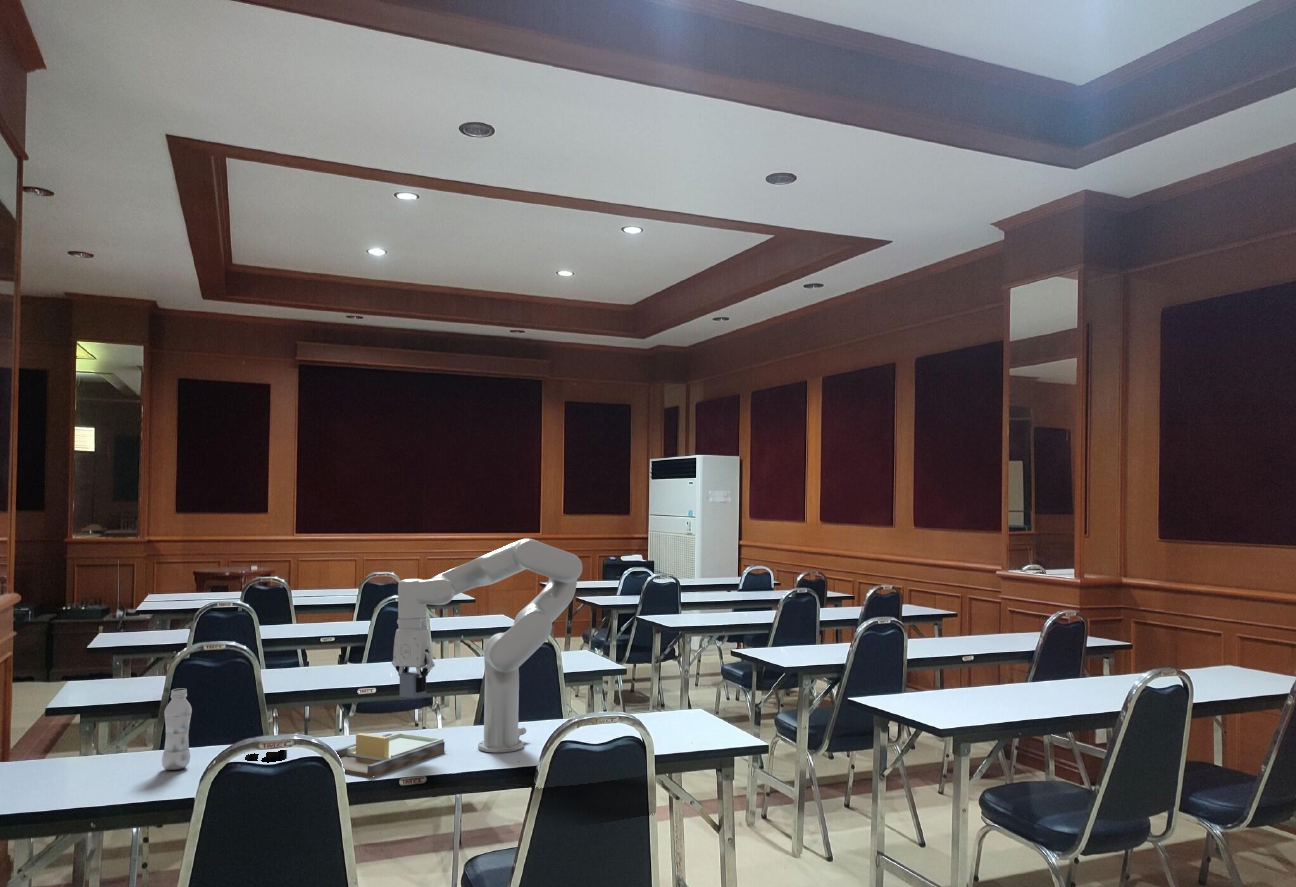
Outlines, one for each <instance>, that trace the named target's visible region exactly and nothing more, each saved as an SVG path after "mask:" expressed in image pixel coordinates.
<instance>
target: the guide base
mask: <svg viewBox="0 0 1296 887" xmlns="http://www.w3.org/2000/svg"><path fill="white" fill-rule="evenodd" d="M390 735H393V734H392V733H387V734H384V735H382V736H384V737H387V736H390ZM354 746H356V743H354V744H350V745H347V746H343V747H340V748H337V749H334V750H335V751H336V752H337V754H338V755H339V757H340V759H341V761H342V764H343V768H344V769H345V773H344V774H346V775H347V774H348V775H351V776H359V777H364V778H369V777H370V778H371V777H372V778H374V777H373V776H375V777H378V776H381V775H383V774H386V773H389V772H392V771H395V770H397V769H400V768H403V767H406V766H409V765H411V764H414V763H417V762H420V761H423V760H425V759H428V758H431V757H434V756H436V755H440V754H443V753H445V748H446V746H445V741H440V742H437V743H434V744H431V745H428V746H425V747H422V748H419V749H416V750H413V751H410V752H407V753H404V754H401V755H398V756H395V757H392V758H389V759H386V760H383V761H379V760H373V759H367V758H361V757H354V756H348V755H347V748H350V747H354ZM380 774H381V775H380ZM377 775H378V776H377ZM372 778H371V779H372Z"/></svg>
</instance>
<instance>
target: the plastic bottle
mask: <svg viewBox="0 0 1296 887" xmlns="http://www.w3.org/2000/svg"><path fill="white" fill-rule="evenodd" d="M187 690H188V689H187V688H183V687H182V688H181V687H180V688H174V689H172V690H171V691H170V699H171V700H170V701H169V703H168V704H167V705H166V707H165V709H164V711H163V712H164V722H165V742H164V749H163V750H164V751H163V752H162V759H161V764H162V765H161V766H162V767H163V770H167V771H177V770H182V769H185V768H186V767H188V765H189V763H190V761H191V751H190V746H189V742H190V740H189V733H190V732H189V730H190V723H191V719H192V718H191V717H192V712H193V708H192V705H191V703H190V702H189V701H188V699H187V697H188V691H187Z"/></svg>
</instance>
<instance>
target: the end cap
mask: <svg viewBox="0 0 1296 887" xmlns="http://www.w3.org/2000/svg"><path fill="white" fill-rule="evenodd" d="M258 755H259V754H255V753H254V754H250V755H249V754H248V755H246V757H245V760H247V761H258V760H257V759H258ZM285 759H287V760H288V749H287V750H280V751H278V752H267V753H266V757H264V758H262V760H261V761H262V762H267V763H269V762H276V761H282V760H285Z"/></svg>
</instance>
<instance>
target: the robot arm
mask: <svg viewBox="0 0 1296 887" xmlns="http://www.w3.org/2000/svg"><path fill="white" fill-rule="evenodd" d="M526 570H528V571H530V572H533V573H536V574H538V575H541V576H544V577H547V578H548V582H547V584H546V585H545V587H543V589H542V590H541V591H540V592H539V594H537V596H535V597H534V598H533V600H531V601H530V602H529V603H528V604H527V605H526V606H525V607H524V608H522V609H521V610H520V611H519V612H518V613H517V614H516V616H515V618H514V623H513V625H512V626H511V627H510V628H509V629H508V630H507V631H506V632H497V633H494V634H493V635H492V636H490V638H489V639H488V640H487V641H486V644H485V646H484V652H483V653H484V654H483V659H484V662H483V663H484V706H483V707H484V708H483V710H484V714H483V715H484V716H483V740H482V741H479V743H478V744H477V748H478V750H480V751H482V752H486V753H497V754H498V753H511V752H516V751H519V750H521V749H523V748H524V741H523V740H521V739H520V737H521V736H523V735H525V734H526V733H527V729H526V728H525V727H520V728H519V704H520V703H519V700H520V699H519V697H520V695H519V691H520V671H519V670H520V669H519V668H520V667H521V666H522V665H523V664H524V663H525V662H526V661H527V660H528V659H529V658H530V657H531V656H532V655H533V654H534V653H535V652H536V651H537V650H539V648H540V647H542V645H544V643H545V642H546V641H547V640H548V638H549V636H550V635H551V633H552V630H553V623H554V621H555V620H556V619H557V618H559V617H560V615H561V614H562V613H563V612H564V611H565V610H566V609H567V607H568V606H569V605H570V603H571V602H572V600H573V598H574V596H575V593H576V589H577V584H578V579H579V578H580V576H581V575H582V573H583V563H582V560H581V559H580V558H579V556H577V555H576V554H574V553H572V552H569V551H566V550H563V549H560V548H559V547H558V548H557V547H555V546H552V545H549V544H546V543H544V542H541V541H538V540H536V539H534V538H527V537H526V538H522V539H519V540H517V541H515V542H511V543H509V544H507V545H505V546H503V547H501V548H500V547H499V548H498V549H495V550H493V551H491V552H488V553H486V554H484V555H481V556H479V557H477V558H474V559H472V560H470V561H468V562H466V563H463V564H461V565H459V566H456V567H454V568H451V569H449V570H446V571H445V572H442V573H439V574H438V575H435V576H433V577H431V578H430V579H422V578H405V579H402V580H399V582H398V585H397V592H398V593H397V596H398V597H397V598H398V599H397V601H398V604H397V606H398V608H397V610H398V614H397V615H398V616H397V617H398V618H397V620H396V623H397V625H398V628H397V629H396V631H395V635H394V642H393V655H392V656H393V659H392V661H391V665H392V666H393V667H394V668H395V670H396V672H397V673H398V674H397V676H399V677H400V674H403V673H407V672H410V668H415V669H416V670H415V671H417V675H418V678H416V692H417V693H420V692H423V691H426V692H427V677H428V675H429V673H430V671H431V670H432V669H433V668H434V667H435V662H434V661H433V659H432V652H431V651H432V650H431V649H432V648H431V639H430V633H429V629H428V628H427V627H428V626H427V605H433V606H434V605H435V606H444V605H447V604H448V603H450V602H451V601H452V600H453V598H454V597H455V596H457V595H460V594H462V593H464V592H466V591H469V590H472V589H475V588H479V587H486V586H487V587H488V586H490V585H493V584H495V583H498V582H501V581H503V580H505V579H508V578H509V577H512V576H514V575H517V574H519V573H522V572H523V571H526Z"/></svg>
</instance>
